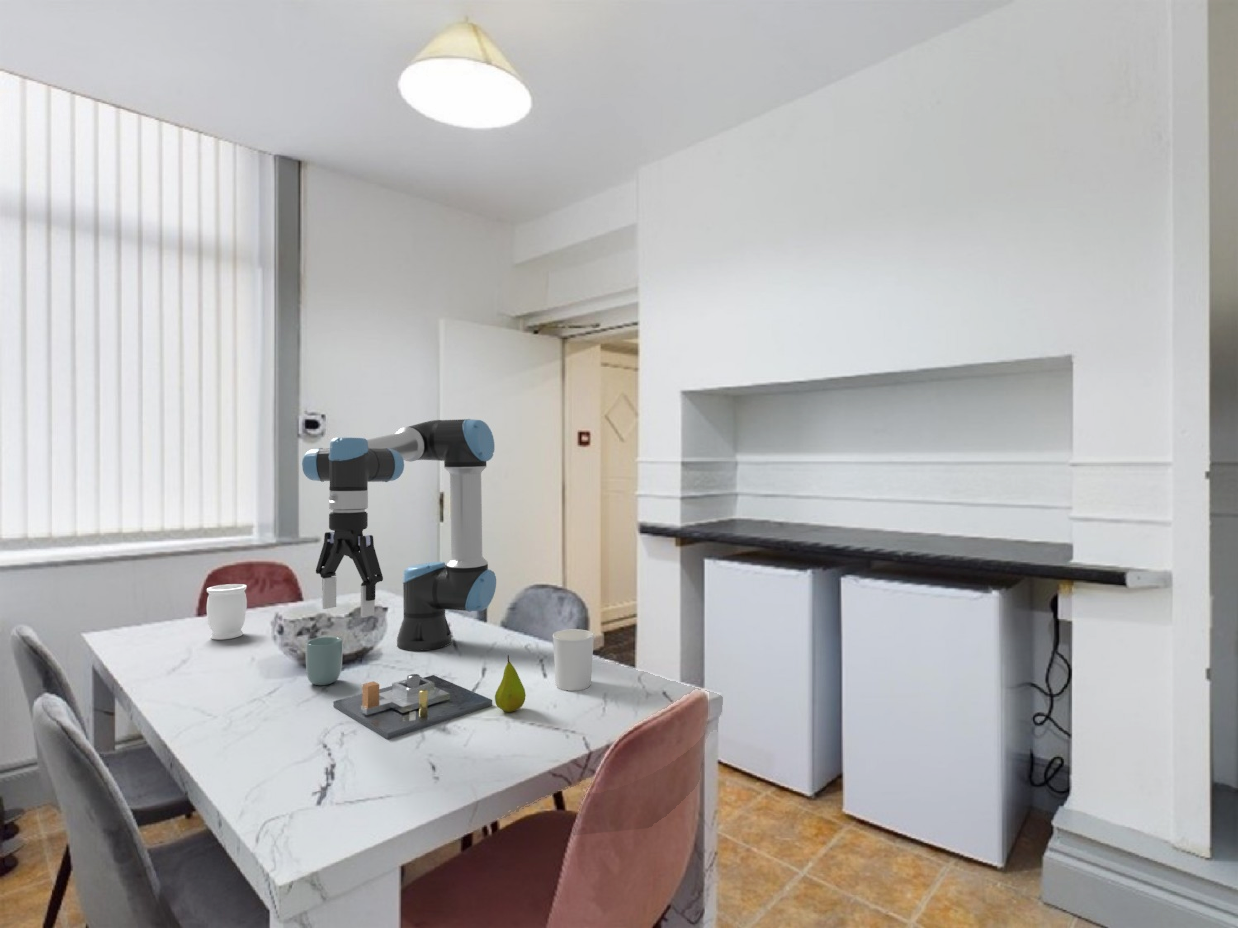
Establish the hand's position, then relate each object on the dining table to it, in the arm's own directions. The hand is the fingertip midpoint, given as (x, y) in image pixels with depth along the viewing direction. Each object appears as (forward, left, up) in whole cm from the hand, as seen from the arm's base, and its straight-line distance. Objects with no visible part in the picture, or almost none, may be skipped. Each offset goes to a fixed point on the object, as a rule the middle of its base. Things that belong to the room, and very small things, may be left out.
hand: (348, 612), depth 137 cm
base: (-11, +7, -21) cm, 25 cm away
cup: (-4, -22, -21) cm, 31 cm away
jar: (-1, -85, -21) cm, 88 cm away
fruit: (-24, +24, -21) cm, 40 cm away
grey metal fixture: (-8, +7, -20) cm, 22 cm away
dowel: (-8, +16, -20) cm, 27 cm away
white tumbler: (-44, +22, -21) cm, 54 cm away
